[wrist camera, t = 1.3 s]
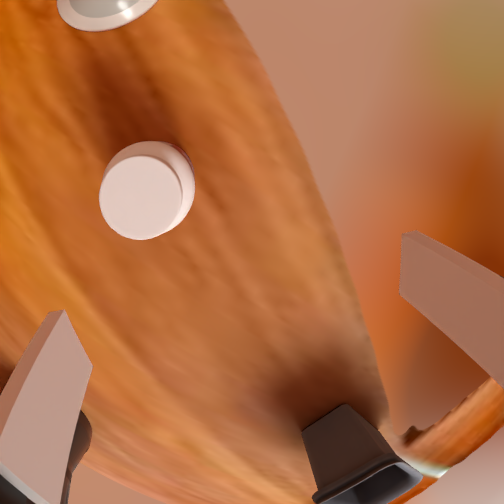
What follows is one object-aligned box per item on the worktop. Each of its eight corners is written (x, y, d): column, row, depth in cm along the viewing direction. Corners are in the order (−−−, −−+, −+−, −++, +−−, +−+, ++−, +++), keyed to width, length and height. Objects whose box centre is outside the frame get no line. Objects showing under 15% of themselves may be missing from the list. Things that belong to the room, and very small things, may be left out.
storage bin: (393, 426, 48) (428, 478, 35) (328, 469, 50) (352, 523, 36) (351, 383, 40) (398, 457, 27) (266, 439, 41) (290, 516, 28)
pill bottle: (192, 210, 28) (194, 254, 17) (125, 210, 26) (90, 254, 16) (195, 141, 25) (198, 141, 15) (126, 141, 24) (85, 143, 14)
